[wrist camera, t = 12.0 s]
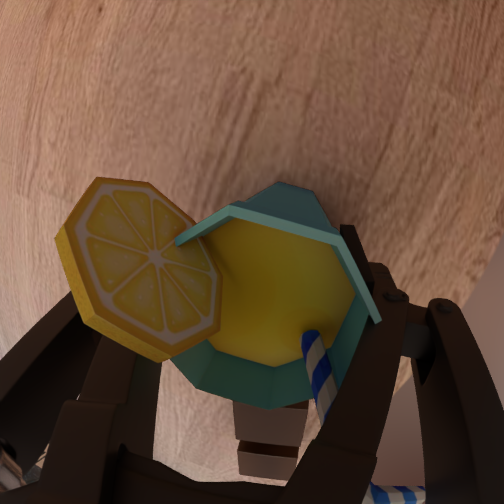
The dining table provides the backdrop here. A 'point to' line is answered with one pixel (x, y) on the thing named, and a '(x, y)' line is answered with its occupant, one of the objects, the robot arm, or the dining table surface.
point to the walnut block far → (267, 460)
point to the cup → (224, 293)
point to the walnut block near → (271, 423)
